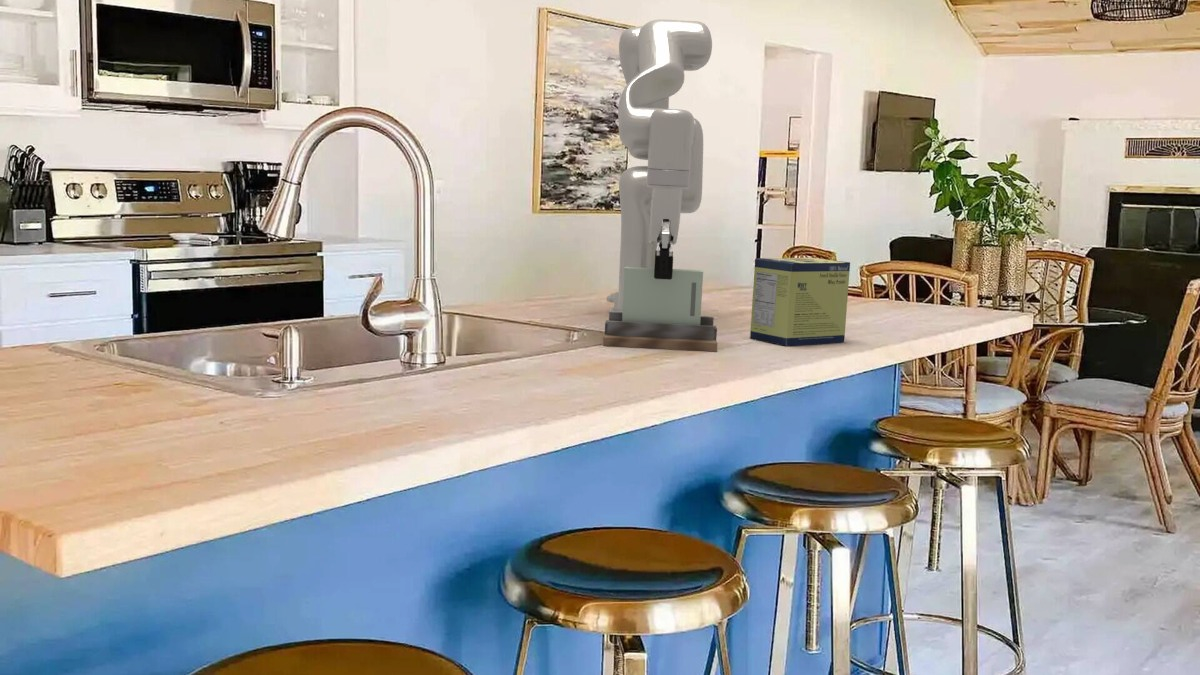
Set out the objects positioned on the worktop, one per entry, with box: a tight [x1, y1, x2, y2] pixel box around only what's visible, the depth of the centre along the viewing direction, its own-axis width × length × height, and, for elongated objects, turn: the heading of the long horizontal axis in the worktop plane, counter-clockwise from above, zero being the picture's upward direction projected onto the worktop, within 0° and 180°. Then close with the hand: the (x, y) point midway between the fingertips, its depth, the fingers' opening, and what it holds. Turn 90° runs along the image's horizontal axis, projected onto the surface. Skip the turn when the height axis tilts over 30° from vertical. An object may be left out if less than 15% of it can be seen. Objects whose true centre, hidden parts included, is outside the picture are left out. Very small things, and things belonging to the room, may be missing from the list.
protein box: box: [749, 256, 851, 347], centre depth 224 cm, size 10×16×16 cm
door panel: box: [622, 267, 704, 325], centre depth 212 cm, size 14×3×12 cm, turn 87°
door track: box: [602, 311, 718, 353], centre depth 213 cm, size 20×12×5 cm, turn 87°
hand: (663, 275), depth 212 cm, fingers open, 9 cm apart
